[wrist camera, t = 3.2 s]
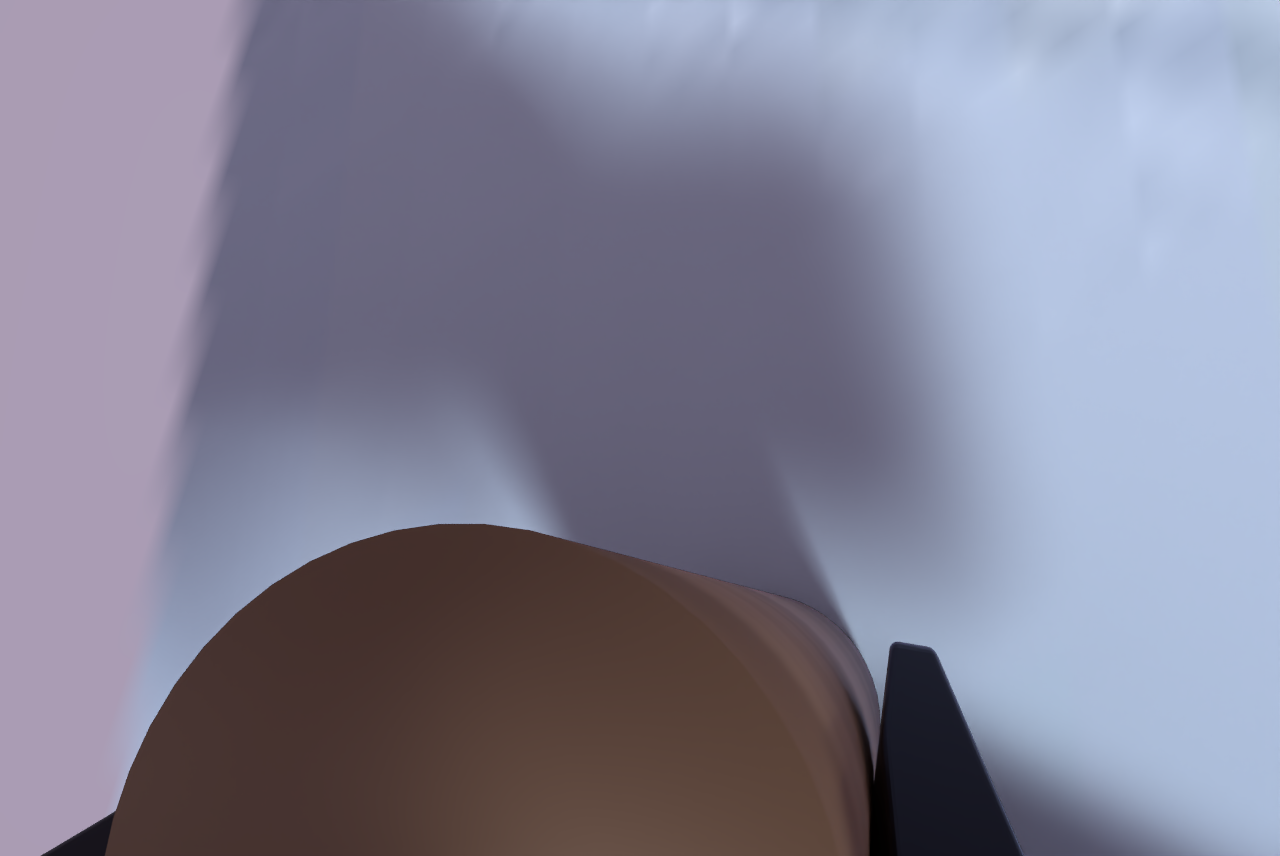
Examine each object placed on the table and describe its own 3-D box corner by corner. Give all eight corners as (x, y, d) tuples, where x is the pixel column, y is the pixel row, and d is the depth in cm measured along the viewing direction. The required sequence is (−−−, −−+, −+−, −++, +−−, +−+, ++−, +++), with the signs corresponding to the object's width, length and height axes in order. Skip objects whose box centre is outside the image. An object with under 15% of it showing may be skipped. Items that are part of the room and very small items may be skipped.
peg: (814, 890, 15) (598, 1656, 4) (602, 761, 17) (-28, 1064, 5) (921, 663, 16) (1008, 771, 4) (705, 552, 17) (319, 403, 5)
